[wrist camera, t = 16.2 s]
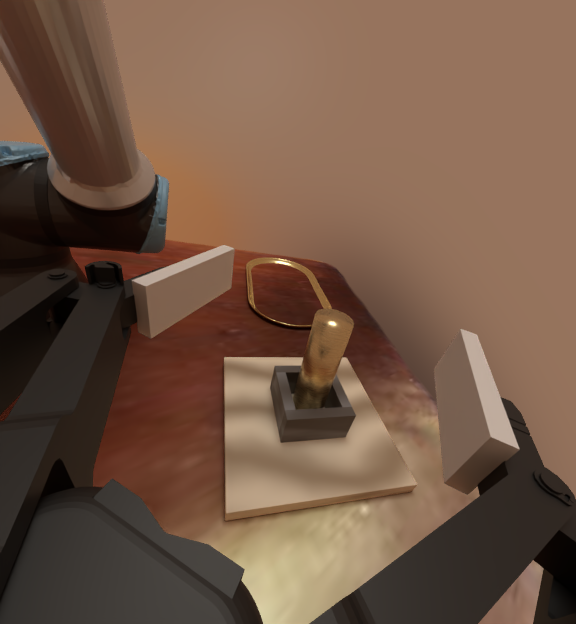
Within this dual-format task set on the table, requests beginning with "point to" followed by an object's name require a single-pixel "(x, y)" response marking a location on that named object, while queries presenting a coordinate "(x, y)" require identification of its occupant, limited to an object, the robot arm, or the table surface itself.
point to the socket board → (302, 442)
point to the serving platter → (285, 262)
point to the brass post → (322, 358)
